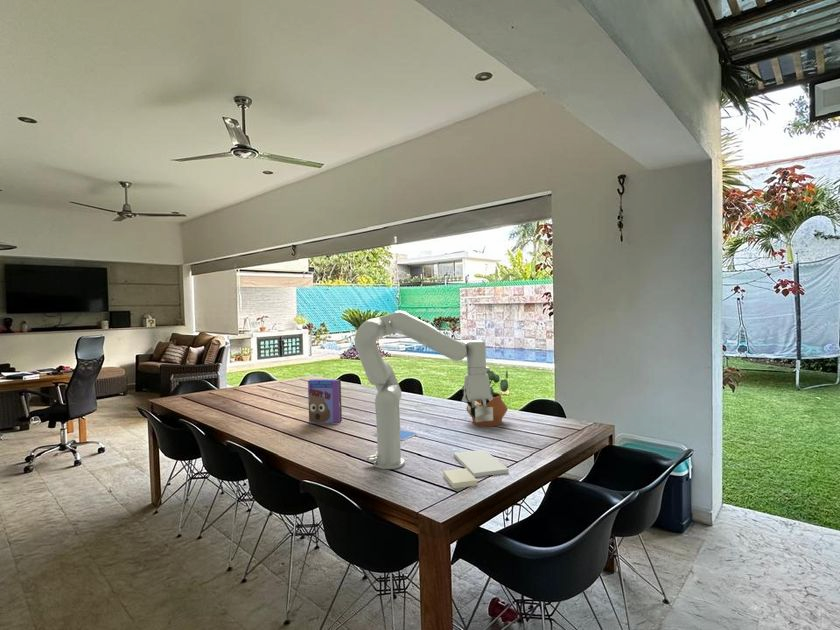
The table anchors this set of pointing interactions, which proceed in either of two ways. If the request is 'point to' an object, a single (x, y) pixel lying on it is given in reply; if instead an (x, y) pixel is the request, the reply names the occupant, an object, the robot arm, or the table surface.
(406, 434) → the tablet computer
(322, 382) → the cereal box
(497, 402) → the potted plant
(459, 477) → the tile
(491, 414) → the beige upright post
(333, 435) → the table surface
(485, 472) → the white rectangular board
